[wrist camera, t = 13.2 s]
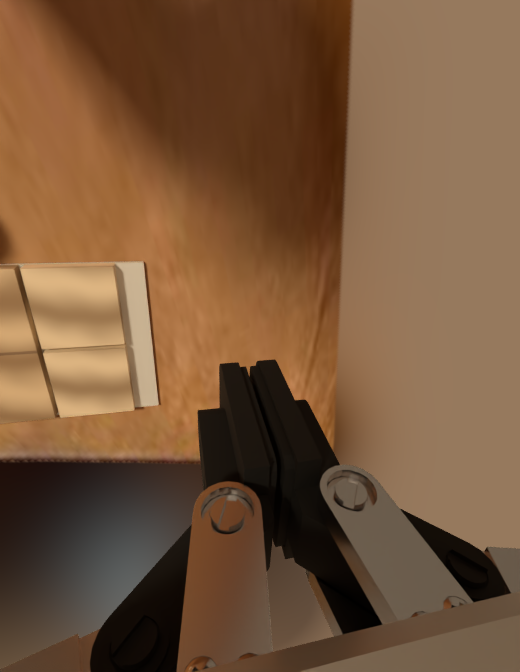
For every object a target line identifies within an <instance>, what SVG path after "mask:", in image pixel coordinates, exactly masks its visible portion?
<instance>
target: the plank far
mask: <svg viewBox="0 0 520 672" xmlns="http://www.w3.org/2000/svg"><path fill="white" fill-rule="evenodd" d="M43 355H44V359H45V363H46V366H47V370H48V374H49V378H50V381H51V385H52V389H53V392H54V396H55V400H56V403H57V407H58V411H59V414H60V418H63V417H73V416H84V415H94V414H104V413H114V412H124V411H134V409H135V400H134V393H133V386H132V379H131V372H130V365H129V359H128V352H127V345H126V343H125V344H120V345H104V346H88V347H72V348H56V349H45V351H44V353H43Z"/></svg>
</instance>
